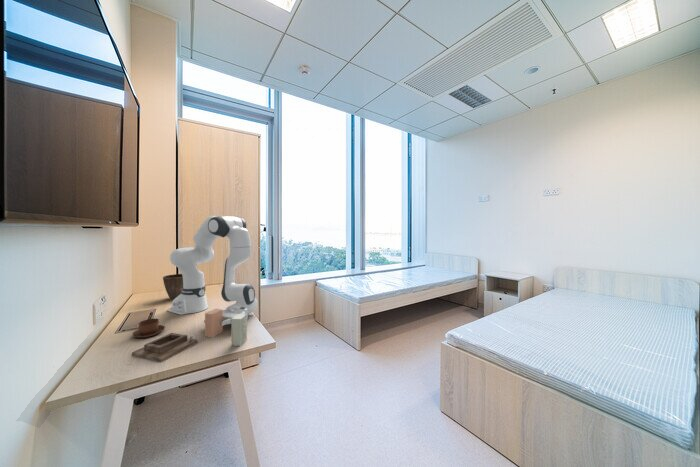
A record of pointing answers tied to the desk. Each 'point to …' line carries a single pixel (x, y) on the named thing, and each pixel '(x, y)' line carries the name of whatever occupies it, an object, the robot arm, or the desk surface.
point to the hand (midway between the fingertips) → (213, 322)
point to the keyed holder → (165, 347)
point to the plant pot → (173, 285)
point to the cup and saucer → (148, 328)
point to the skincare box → (238, 329)
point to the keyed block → (213, 322)
